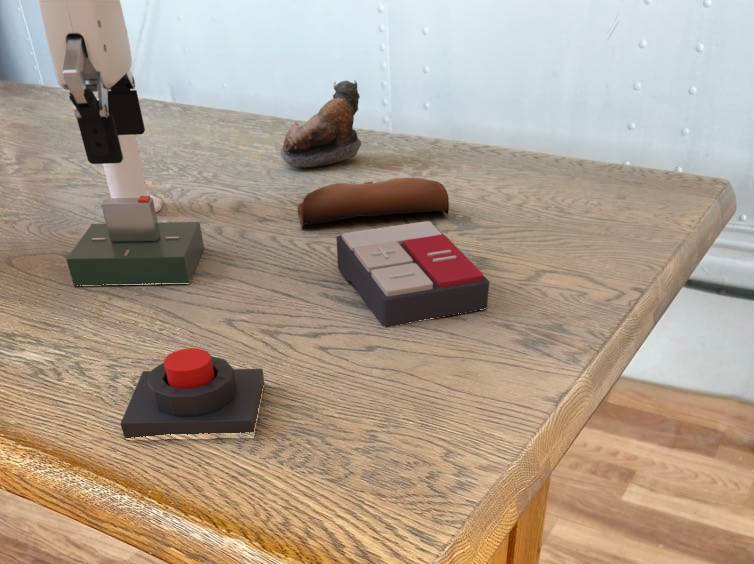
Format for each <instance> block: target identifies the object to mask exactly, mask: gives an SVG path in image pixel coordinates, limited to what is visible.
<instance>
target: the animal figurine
mask: <svg viewBox="0 0 754 564" xmlns="http://www.w3.org/2000/svg"><path fill="white" fill-rule="evenodd" d="M353 81H354V82H351V81H349V80H342V81H340V82H338V83H336V81H334V82H333V89H334V91H335V92H334V93H333V94H332V98H331V99H330V100H328V101H327V102H326V103H325V104H323V105H322V107H320V109H319V110H318V112H316V114H314V115H313V116H311V117H310V118H309V119H308V120H307V121H306V122H305V124H299V123H298V122H296V121H295V122H293V123H292V124H291V125H290V128H289V129H288V131H287V133H286V134H285V136H284V140H283V145H282V146H281V148H280V151H279V152H280V156H281V158H282V160H283V161H284V162H285V163H286V164H287V165H289V166H290V167H293V168H317V167H323V166H327V165H332V164H334V163H338V162H341V161H345V160H347V159H350V158H353V157H355V156H357V155H358V152H359V150H360V148H361V146H362V141H361V139H360V138H359V137H358V133H357V131H356V130H355V129H354V121H355V115H356V113H357V112H358V110H359V99H360V98H361V96H360V93H359V91H358V82H357V80H356V79H353Z"/></svg>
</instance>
